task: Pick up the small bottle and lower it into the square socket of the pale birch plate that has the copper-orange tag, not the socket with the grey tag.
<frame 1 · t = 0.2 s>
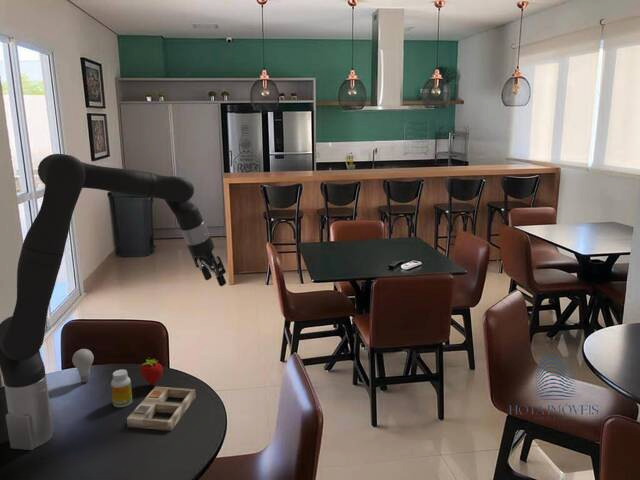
hand: (216, 281, 165), 31 cm above the table, tool tilted 20°, fingers open, 8 cm apart
supplement bottle: (122, 403, 153), on the table
lightbulb: (85, 382, 165), on the table
strawberry: (152, 386, 163), on the table
socket plate: (163, 411, 148), on the table
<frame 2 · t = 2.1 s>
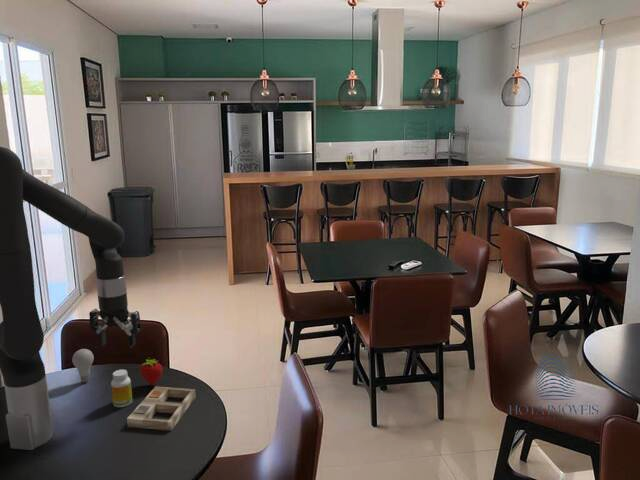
hand: (117, 345, 149), 18 cm above the table, tool pointing down, fingers open, 8 cm apart
nothing on the table moved.
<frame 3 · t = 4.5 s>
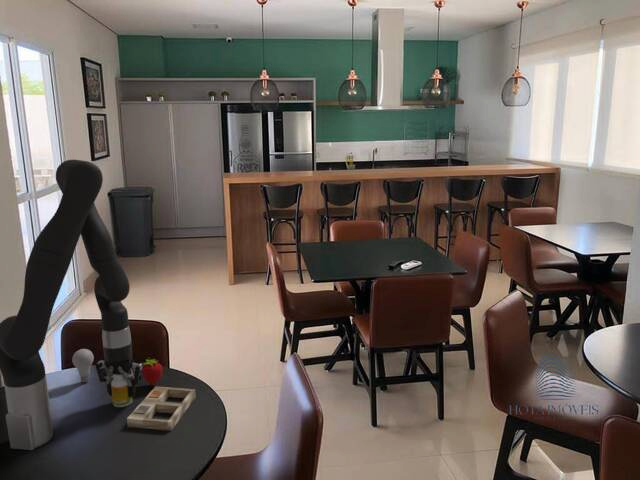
hand: (122, 395, 152), 2 cm above the table, tool pointing down, fingers closed on supplement bottle, 5 cm apart
supplement bottle: (122, 403, 153), on the table, touching gripper
everything else where it was.
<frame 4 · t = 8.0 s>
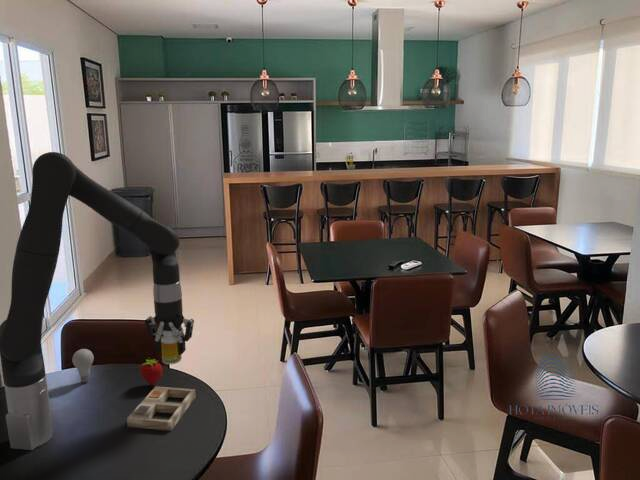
hand: (171, 352, 148), 16 cm above the table, tool pointing down, fingers closed on supplement bottle, 5 cm apart
supplement bottle: (172, 361, 149), point 14 cm above the table, touching gripper
everything else where it was.
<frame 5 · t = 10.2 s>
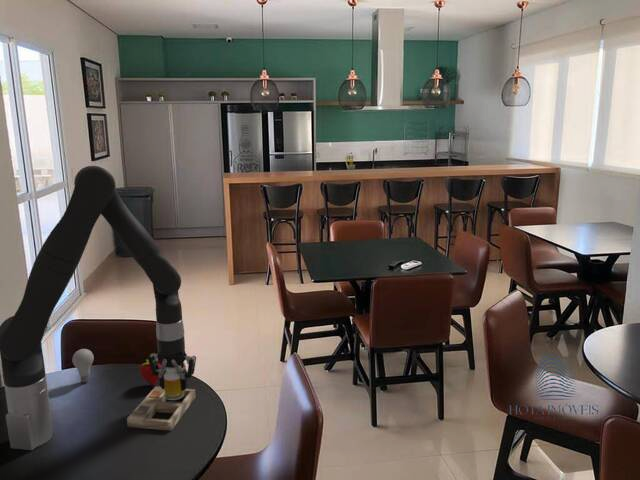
hand: (174, 388, 151), 5 cm above the table, tool pointing down, fingers closed on supplement bottle, 5 cm apart
supplement bottle: (174, 396, 152), point 2 cm above the table, touching gripper
everything else where it was.
when the fingers open (3 cm above the table, at t = 11.9 s): supplement bottle stays where it is, resting in socket plate.
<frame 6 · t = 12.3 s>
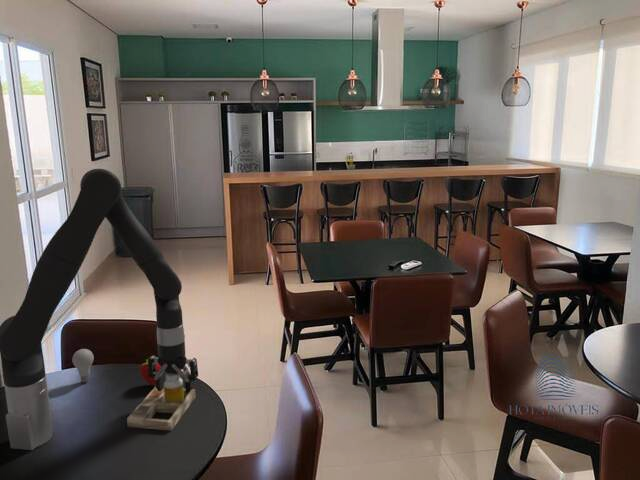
hand: (174, 391, 151), 4 cm above the table, tool pointing down, fingers open, 8 cm apart
supplement bottle: (174, 404, 152), resting in socket plate
everything else where it was.
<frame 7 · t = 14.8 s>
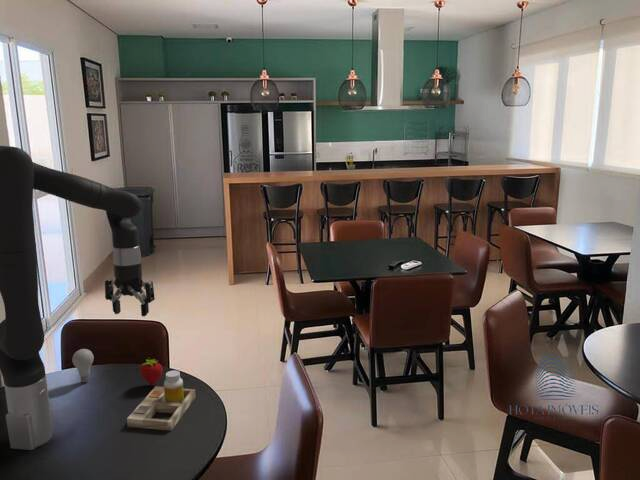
hand: (131, 314, 153), 25 cm above the table, tool pointing down, fingers open, 8 cm apart
nothing on the table moved.
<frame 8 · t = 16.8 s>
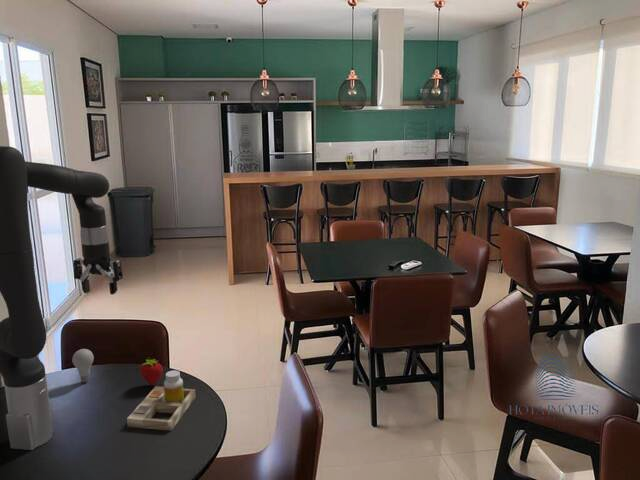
hand: (100, 293, 157), 30 cm above the table, tool pointing down, fingers open, 8 cm apart
nothing on the table moved.
at the end: supplement bottle 0.2 cm from the target spot on the socket plate, point 0.0 cm above the socket plate's base; supplement bottle tilted 0°; the gripper is holding nothing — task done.
